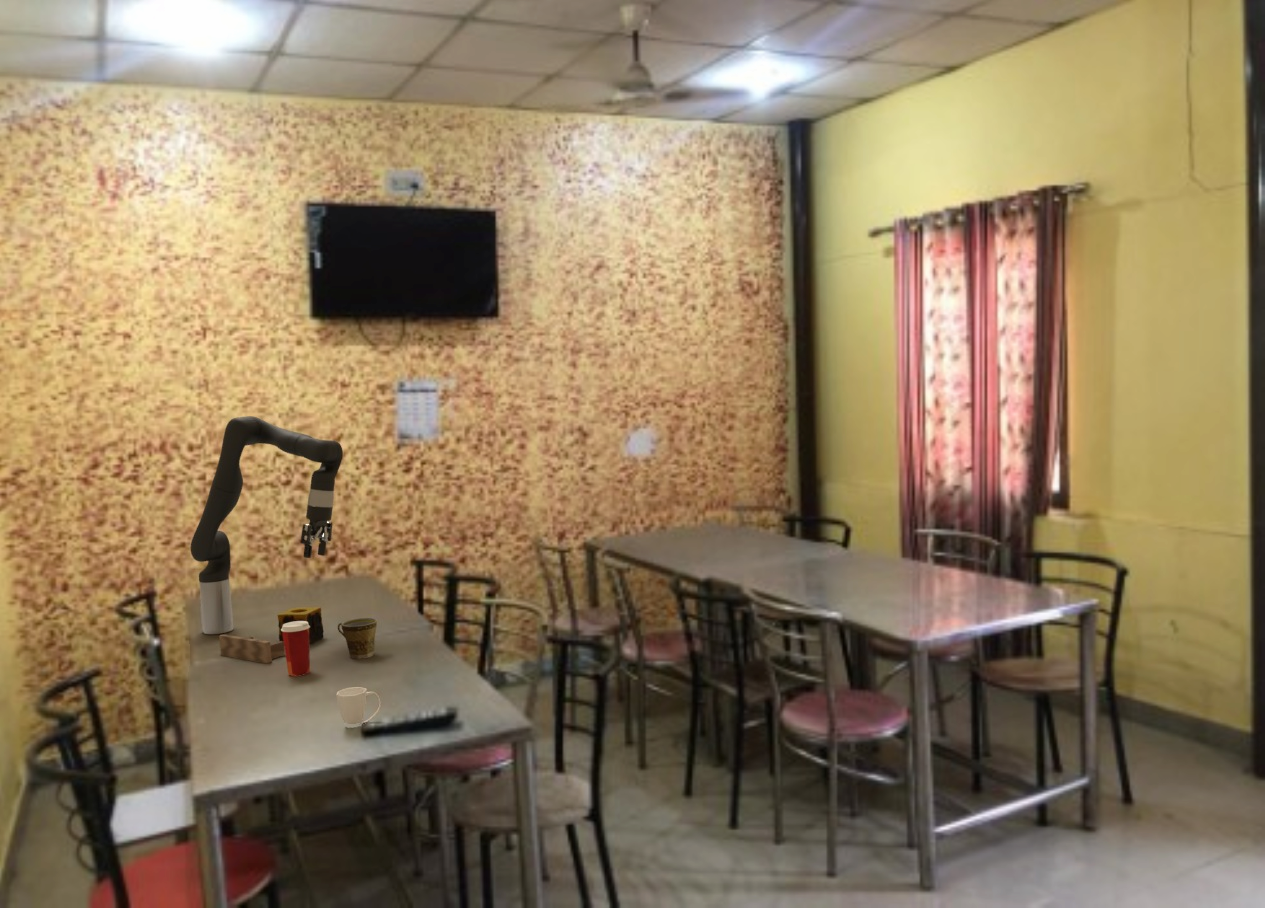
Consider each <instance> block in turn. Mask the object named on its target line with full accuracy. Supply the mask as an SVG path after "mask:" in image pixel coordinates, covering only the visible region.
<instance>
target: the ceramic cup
mask: <svg viewBox="0 0 1265 908" xmlns="http://www.w3.org/2000/svg"><path fill="white" fill-rule="evenodd" d="M377 622H378V620H377V619H375V618H373V617H372V618H370V617H369V618H368V617H366V618H365V617H364V618H363V617H362V618H353V619H350V620H346V621H344V622H340V623H338V624H337V630H338V631H337V632H338V633H340V634H341V635H342V636H343V637H344V639H345V642H346V645H347V646H346V647H347V649H348V654H349V657H350V659H353V658H354V659H355V658H356V659H355V660H361V659H360V658H362V659H367V658H370V657H373V656H374V651H375V650H374V648H375V642H376V641H375V640H376V632H377ZM340 626H341V629H342V630H341V629H340Z"/></svg>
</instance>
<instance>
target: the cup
mask: <svg viewBox="0 0 1265 908" xmlns="http://www.w3.org/2000/svg"><path fill="white" fill-rule="evenodd" d="M370 695H375V696H376V697H377V699H378V704H379V705H378V708H377V710H376V711H375V712H374V713H373V715H371V716H370V717H369V718H368V719H366V720H364V718H365V713H366V705H367V704H366V703H367V697H368V696H370ZM335 697H336V700H337V704H338V708H339V713H340V716H341V718H342V721H343V723H344V724H356V723H360V724H361V723H363V722H368V721H369V722H370V721H372V720H373V719H374V718H375V717H376V716H377V715H378V714H379V713H380V711H381V709H382V702H381V697H380V696H379V695H378V694H377V693H376V692H375V691H367V688H365V687H361V686H355V687H346V688H343V689H340V690H337V692H336V696H335ZM363 720H364V721H363ZM369 722H368V723H369ZM360 724H359V725H360Z"/></svg>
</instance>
